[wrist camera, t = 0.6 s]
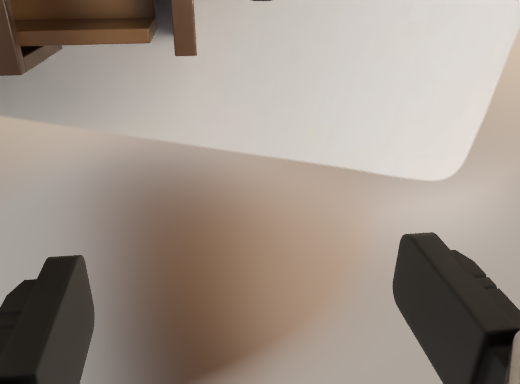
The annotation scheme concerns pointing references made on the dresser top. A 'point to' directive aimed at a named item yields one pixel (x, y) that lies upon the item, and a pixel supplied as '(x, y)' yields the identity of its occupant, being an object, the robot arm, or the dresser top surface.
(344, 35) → the dresser top surface
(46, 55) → the cabinet
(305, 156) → the dresser top surface
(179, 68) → the dresser top surface
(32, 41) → the drawer
